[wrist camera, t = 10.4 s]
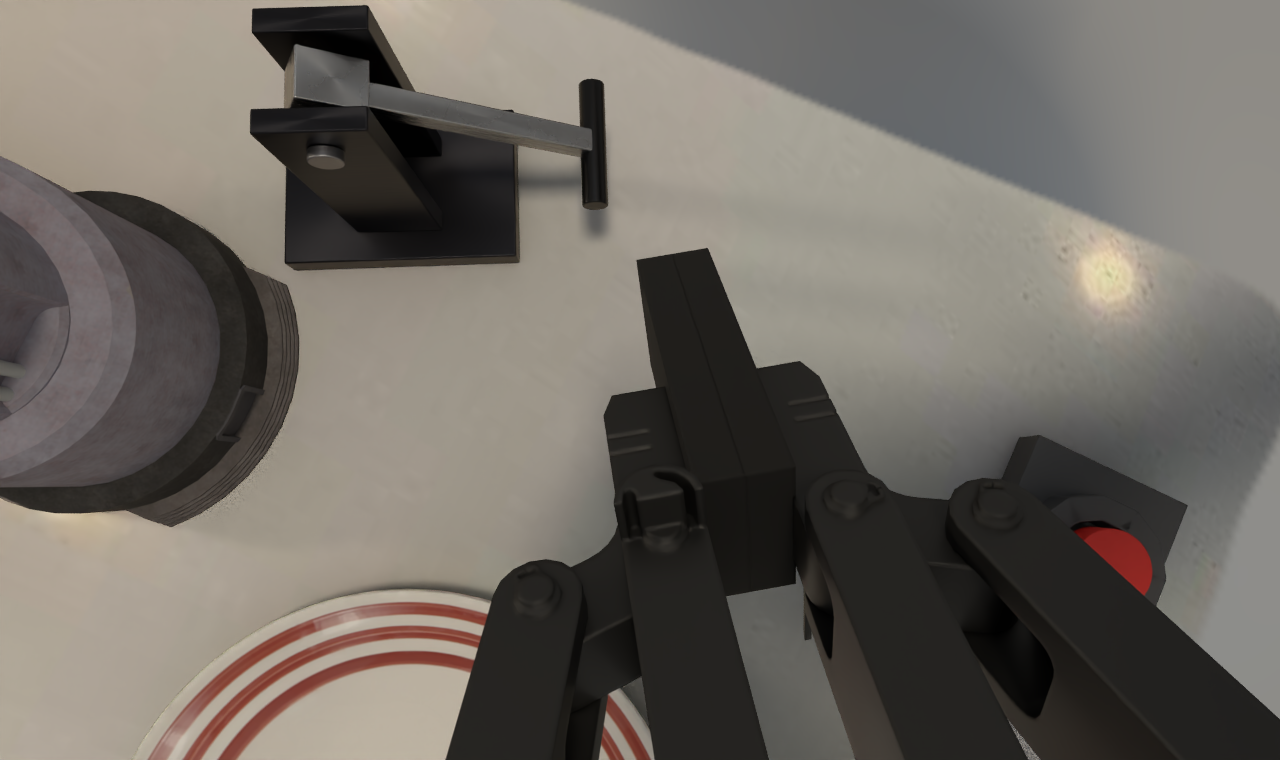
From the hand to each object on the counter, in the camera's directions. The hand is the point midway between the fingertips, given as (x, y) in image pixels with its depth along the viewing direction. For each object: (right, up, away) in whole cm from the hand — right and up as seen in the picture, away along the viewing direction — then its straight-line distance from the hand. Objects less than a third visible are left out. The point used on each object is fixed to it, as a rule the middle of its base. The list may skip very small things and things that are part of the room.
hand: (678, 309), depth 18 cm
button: (+21, -10, +22) cm, 31 cm away
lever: (-9, +10, +19) cm, 23 cm away
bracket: (-13, +9, +27) cm, 31 cm away
